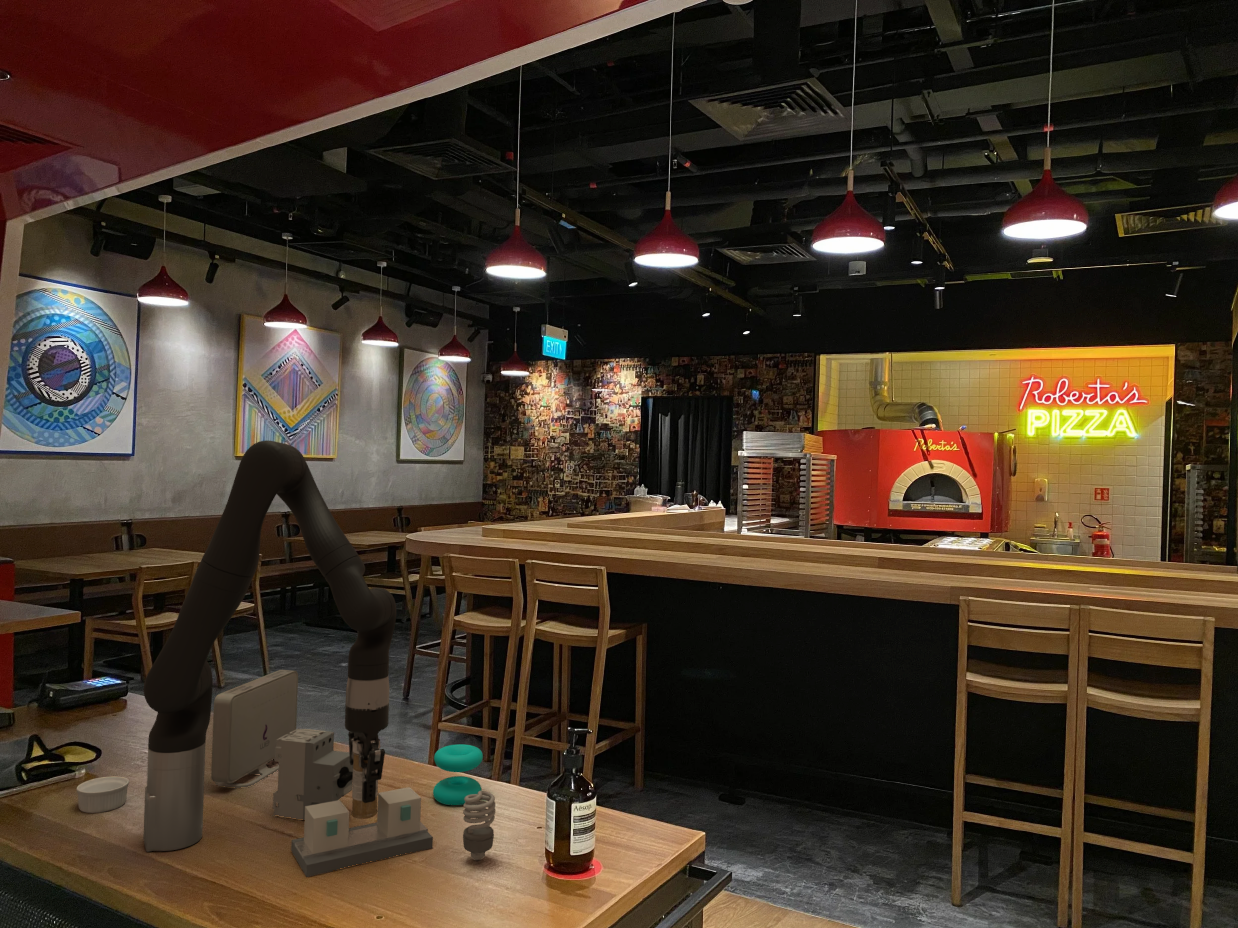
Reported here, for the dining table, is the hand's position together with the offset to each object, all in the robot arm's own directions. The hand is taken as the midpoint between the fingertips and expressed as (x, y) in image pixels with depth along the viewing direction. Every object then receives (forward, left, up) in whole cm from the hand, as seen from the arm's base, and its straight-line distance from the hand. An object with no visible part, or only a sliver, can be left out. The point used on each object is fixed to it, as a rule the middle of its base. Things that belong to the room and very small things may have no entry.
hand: (364, 796), depth 152 cm
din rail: (0, 0, -7) cm, 7 cm away
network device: (-9, +49, -10) cm, 51 cm away
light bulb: (+16, -14, -10) cm, 23 cm away
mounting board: (0, 0, -9) cm, 9 cm away
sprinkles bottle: (0, 0, -3) cm, 3 cm away
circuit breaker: (-3, +20, -10) cm, 22 cm away
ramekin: (-38, +44, -10) cm, 59 cm away
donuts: (+24, +14, -10) cm, 29 cm away
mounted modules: (0, 0, -7) cm, 7 cm away
